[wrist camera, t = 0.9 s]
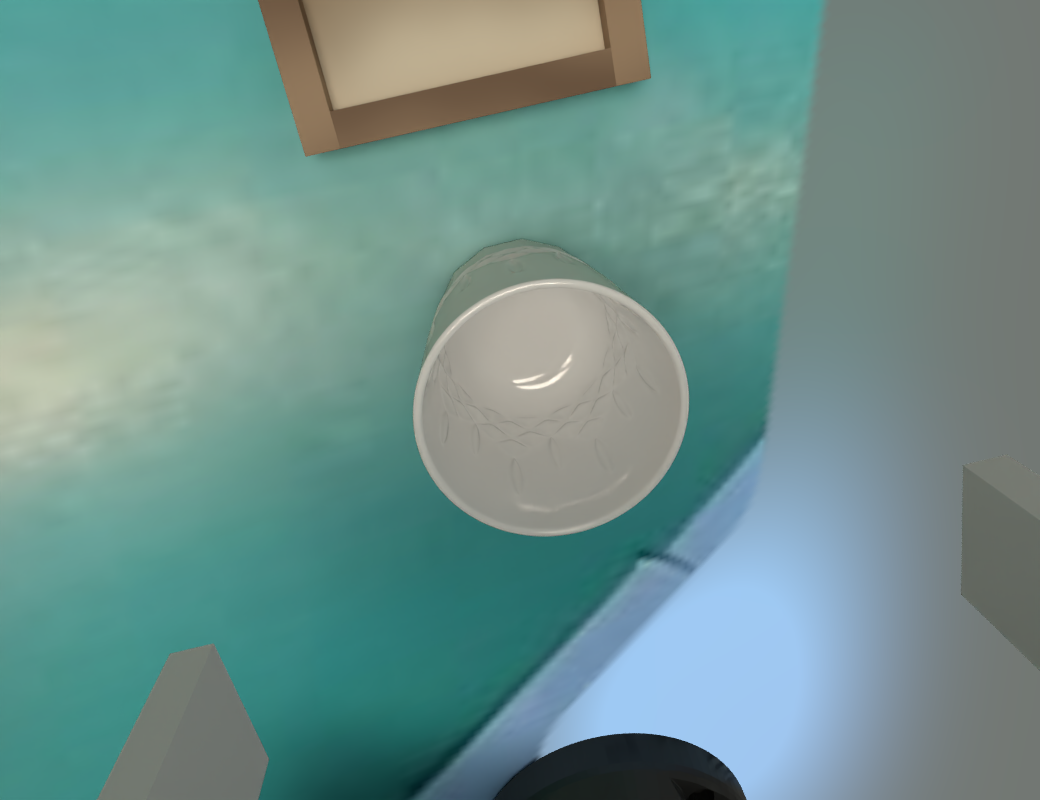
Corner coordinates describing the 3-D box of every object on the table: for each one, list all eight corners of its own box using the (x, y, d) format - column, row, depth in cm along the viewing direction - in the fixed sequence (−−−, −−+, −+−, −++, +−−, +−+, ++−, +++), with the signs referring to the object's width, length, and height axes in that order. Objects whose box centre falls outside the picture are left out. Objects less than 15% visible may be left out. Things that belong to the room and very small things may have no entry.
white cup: (655, 304, 31) (745, 390, 22) (534, 445, 33) (569, 580, 23) (505, 180, 28) (533, 217, 19) (384, 339, 30) (356, 443, 21)
